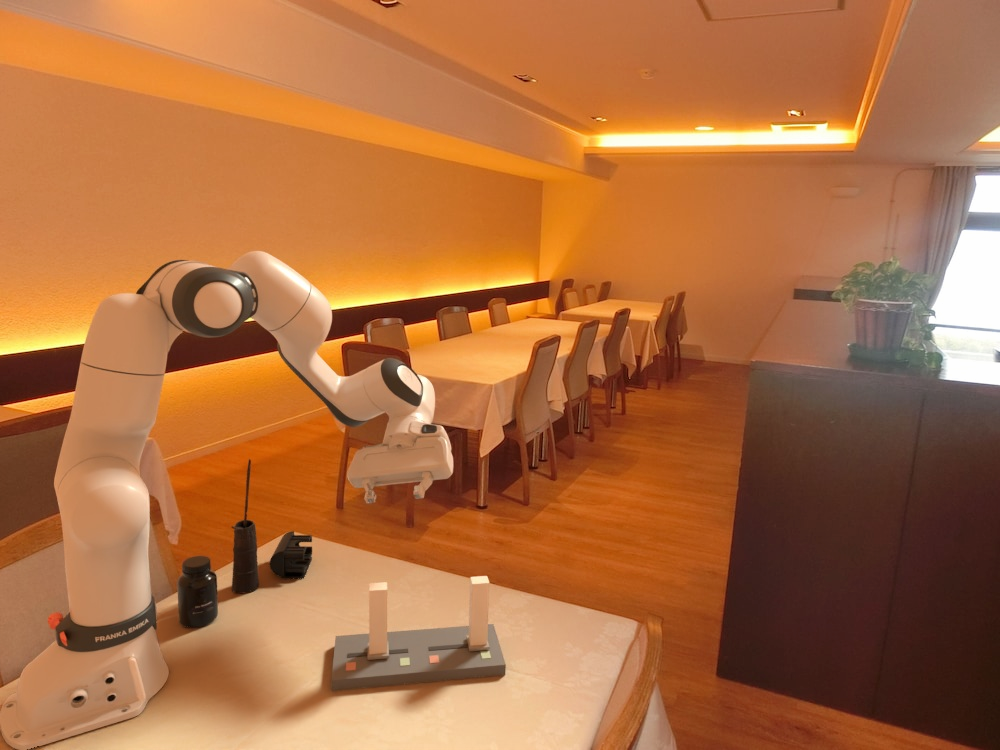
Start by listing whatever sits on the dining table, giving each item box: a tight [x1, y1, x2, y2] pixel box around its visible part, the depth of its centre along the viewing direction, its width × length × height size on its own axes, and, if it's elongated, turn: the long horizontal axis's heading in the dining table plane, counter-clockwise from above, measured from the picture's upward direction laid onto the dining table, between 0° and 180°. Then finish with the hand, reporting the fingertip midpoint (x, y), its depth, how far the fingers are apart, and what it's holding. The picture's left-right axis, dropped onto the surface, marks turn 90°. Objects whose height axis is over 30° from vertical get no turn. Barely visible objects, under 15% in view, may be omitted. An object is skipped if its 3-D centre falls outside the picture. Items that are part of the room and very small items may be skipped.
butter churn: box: [231, 459, 259, 594], centre depth 130 cm, size 9×10×28 cm
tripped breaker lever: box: [368, 581, 389, 660], centre depth 110 cm, size 4×4×12 cm
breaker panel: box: [330, 623, 507, 692], centre depth 113 cm, size 29×12×2 cm, turn 101°
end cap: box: [269, 530, 313, 580], centre depth 142 cm, size 10×7×7 cm
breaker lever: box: [466, 575, 490, 651], centre depth 114 cm, size 4×4×12 cm
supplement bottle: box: [176, 555, 219, 629], centre depth 122 cm, size 7×7×12 cm
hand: (393, 498), depth 116 cm, fingers open, 8 cm apart
